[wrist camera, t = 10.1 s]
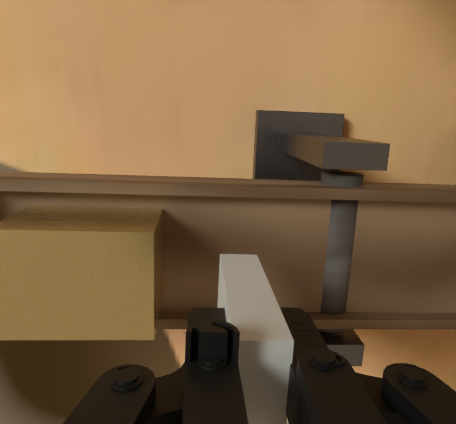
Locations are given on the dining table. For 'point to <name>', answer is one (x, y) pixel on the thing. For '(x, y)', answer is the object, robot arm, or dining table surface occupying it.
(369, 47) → the dining table surface
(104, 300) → the block
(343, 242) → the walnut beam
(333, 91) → the dining table surface
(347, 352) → the beam stand
